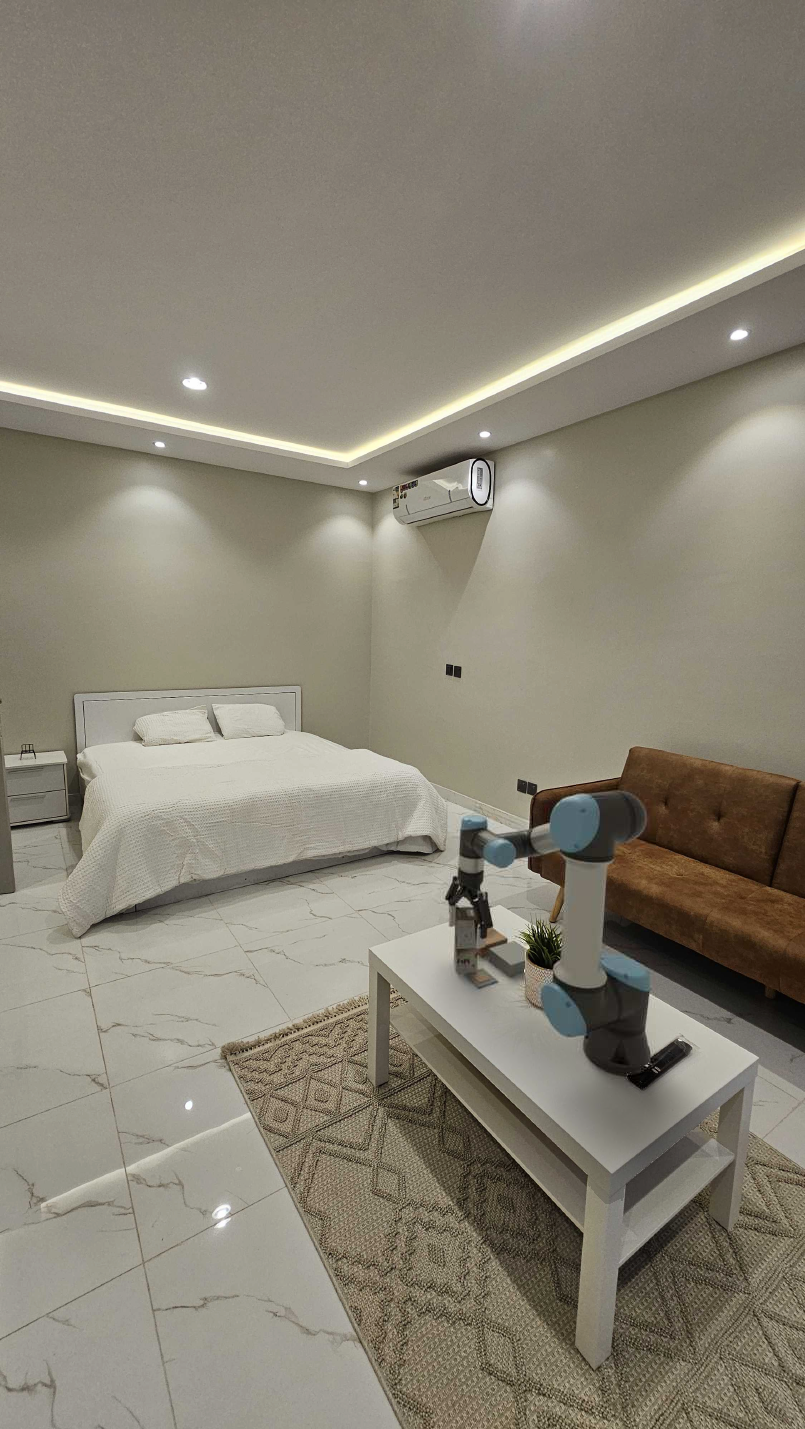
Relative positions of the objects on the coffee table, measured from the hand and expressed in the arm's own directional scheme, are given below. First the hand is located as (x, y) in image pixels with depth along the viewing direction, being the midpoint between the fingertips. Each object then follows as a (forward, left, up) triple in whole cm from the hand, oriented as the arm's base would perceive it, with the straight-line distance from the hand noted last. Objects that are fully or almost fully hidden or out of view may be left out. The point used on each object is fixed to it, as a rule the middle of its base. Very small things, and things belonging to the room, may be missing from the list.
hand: (466, 936), depth 178 cm
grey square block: (-6, -13, -9) cm, 17 cm away
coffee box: (0, 0, -9) cm, 9 cm away
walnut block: (+6, -12, -9) cm, 16 cm away
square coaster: (-8, 0, -9) cm, 12 cm away
